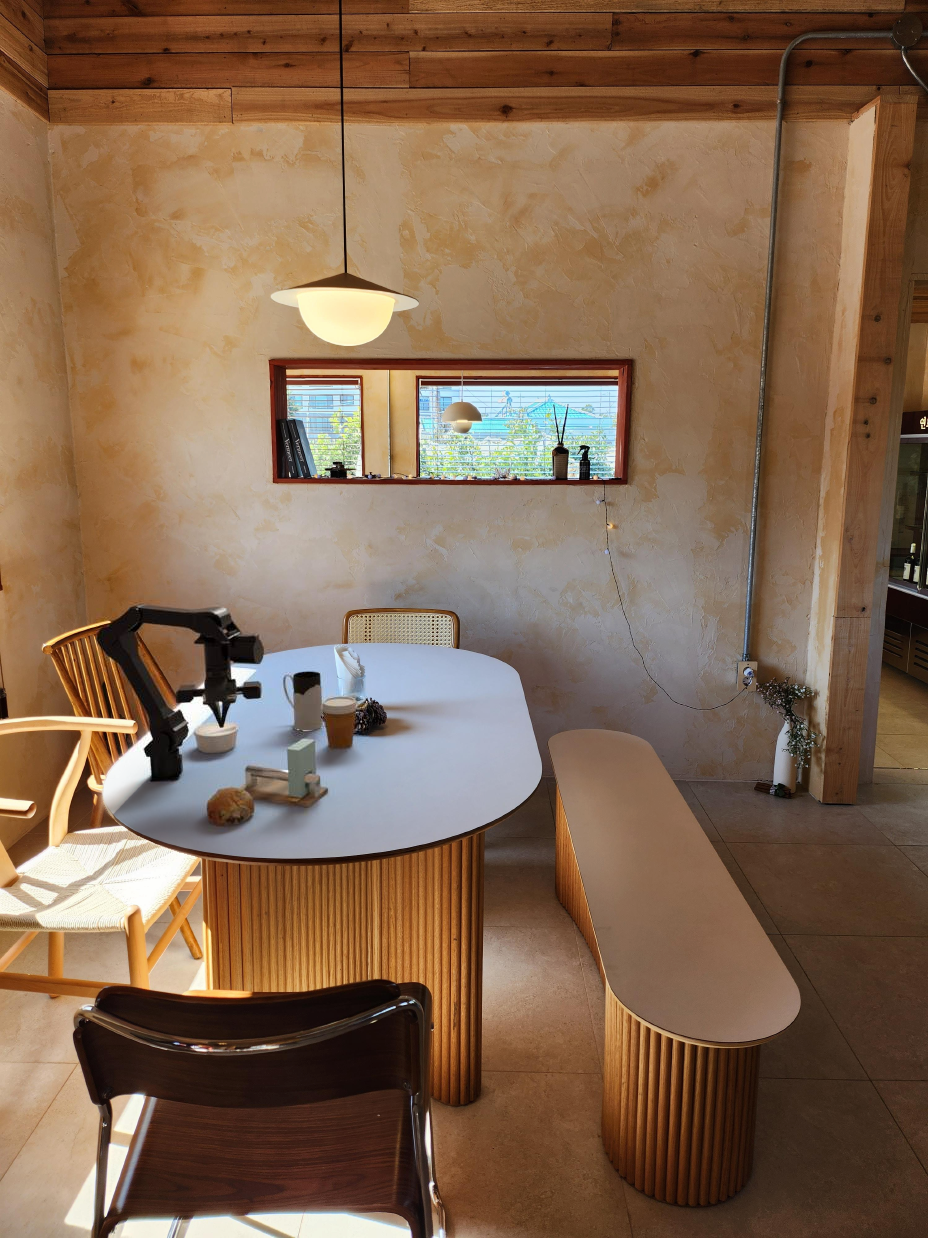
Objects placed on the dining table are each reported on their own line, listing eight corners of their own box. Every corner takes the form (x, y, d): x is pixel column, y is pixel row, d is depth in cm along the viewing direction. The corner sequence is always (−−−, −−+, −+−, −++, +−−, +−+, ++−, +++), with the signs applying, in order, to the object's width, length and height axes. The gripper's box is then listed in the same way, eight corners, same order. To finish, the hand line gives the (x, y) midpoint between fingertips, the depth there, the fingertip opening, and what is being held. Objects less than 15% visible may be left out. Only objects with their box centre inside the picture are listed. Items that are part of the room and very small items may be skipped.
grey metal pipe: (245, 786, 190) (244, 767, 189) (251, 782, 193) (250, 763, 192) (315, 797, 184) (314, 777, 184) (321, 793, 187) (320, 773, 186)
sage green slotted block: (289, 796, 184) (287, 748, 182) (304, 784, 191) (303, 738, 188) (300, 797, 183) (299, 750, 181) (316, 786, 190) (314, 740, 187)
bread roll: (258, 825, 181) (259, 788, 183) (247, 825, 172) (249, 786, 173) (212, 826, 181) (214, 788, 183) (199, 826, 171) (201, 786, 173)
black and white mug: (307, 733, 229) (305, 680, 226) (273, 723, 238) (271, 672, 235) (330, 725, 236) (329, 674, 233) (297, 715, 244) (295, 666, 241)
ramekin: (226, 756, 212) (225, 737, 211) (186, 753, 214) (185, 734, 213) (246, 742, 223) (245, 723, 221) (208, 739, 225) (206, 720, 224)
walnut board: (233, 795, 188) (233, 790, 188) (256, 781, 196) (255, 776, 196) (308, 807, 182) (308, 802, 181) (328, 791, 190) (327, 787, 190)
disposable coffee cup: (324, 752, 215) (323, 708, 212) (320, 740, 224) (319, 697, 221) (361, 749, 217) (360, 705, 215) (355, 737, 226) (354, 694, 224)
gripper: (169, 673, 182) (175, 741, 185) (257, 669, 185) (261, 736, 188) (177, 661, 192) (181, 725, 195) (260, 657, 196) (263, 720, 199)
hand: (221, 727), depth 194 cm, fingers closed
